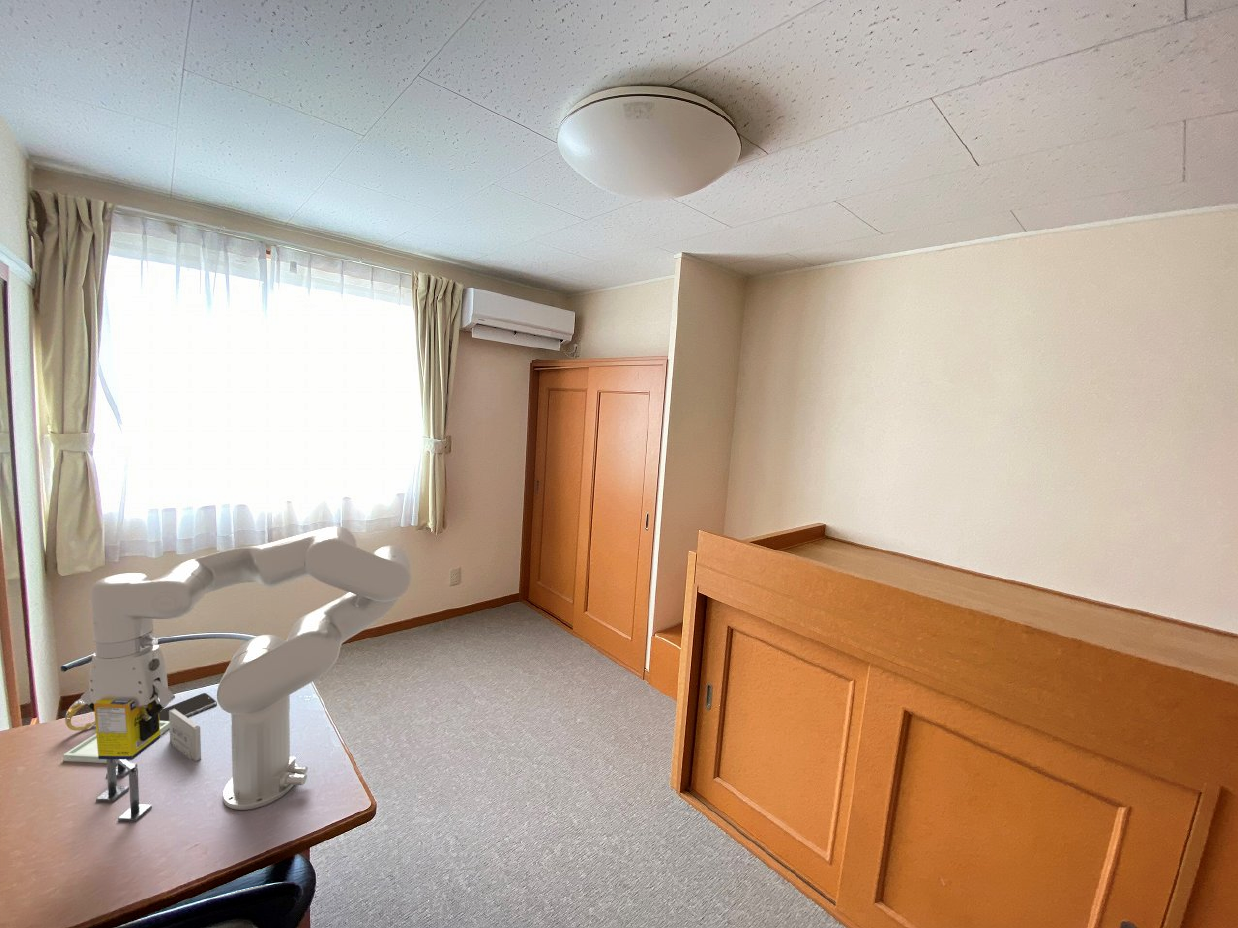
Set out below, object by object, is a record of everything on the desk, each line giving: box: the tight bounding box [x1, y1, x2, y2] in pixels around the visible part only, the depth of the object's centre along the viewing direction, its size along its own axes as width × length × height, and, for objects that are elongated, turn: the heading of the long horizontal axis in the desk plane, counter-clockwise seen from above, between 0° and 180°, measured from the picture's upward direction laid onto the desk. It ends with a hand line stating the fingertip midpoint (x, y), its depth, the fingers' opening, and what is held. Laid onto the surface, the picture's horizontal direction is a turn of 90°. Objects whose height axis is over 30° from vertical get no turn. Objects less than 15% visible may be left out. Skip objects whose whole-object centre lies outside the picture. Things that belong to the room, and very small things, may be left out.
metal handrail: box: [95, 759, 153, 823], centre depth 96 cm, size 20×7×10 cm, turn 52°
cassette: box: [169, 709, 202, 762], centre depth 109 cm, size 12×2×8 cm, turn 63°
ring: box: [64, 698, 96, 731], centre depth 113 cm, size 7×3×8 cm, turn 148°
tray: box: [62, 721, 170, 765], centre depth 109 cm, size 12×12×1 cm
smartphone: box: [159, 692, 218, 721], centre depth 120 cm, size 7×1×16 cm
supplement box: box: [93, 697, 161, 761], centre depth 90 cm, size 6×6×11 cm
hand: (130, 734), depth 90 cm, fingers closed on supplement box, 6 cm apart
